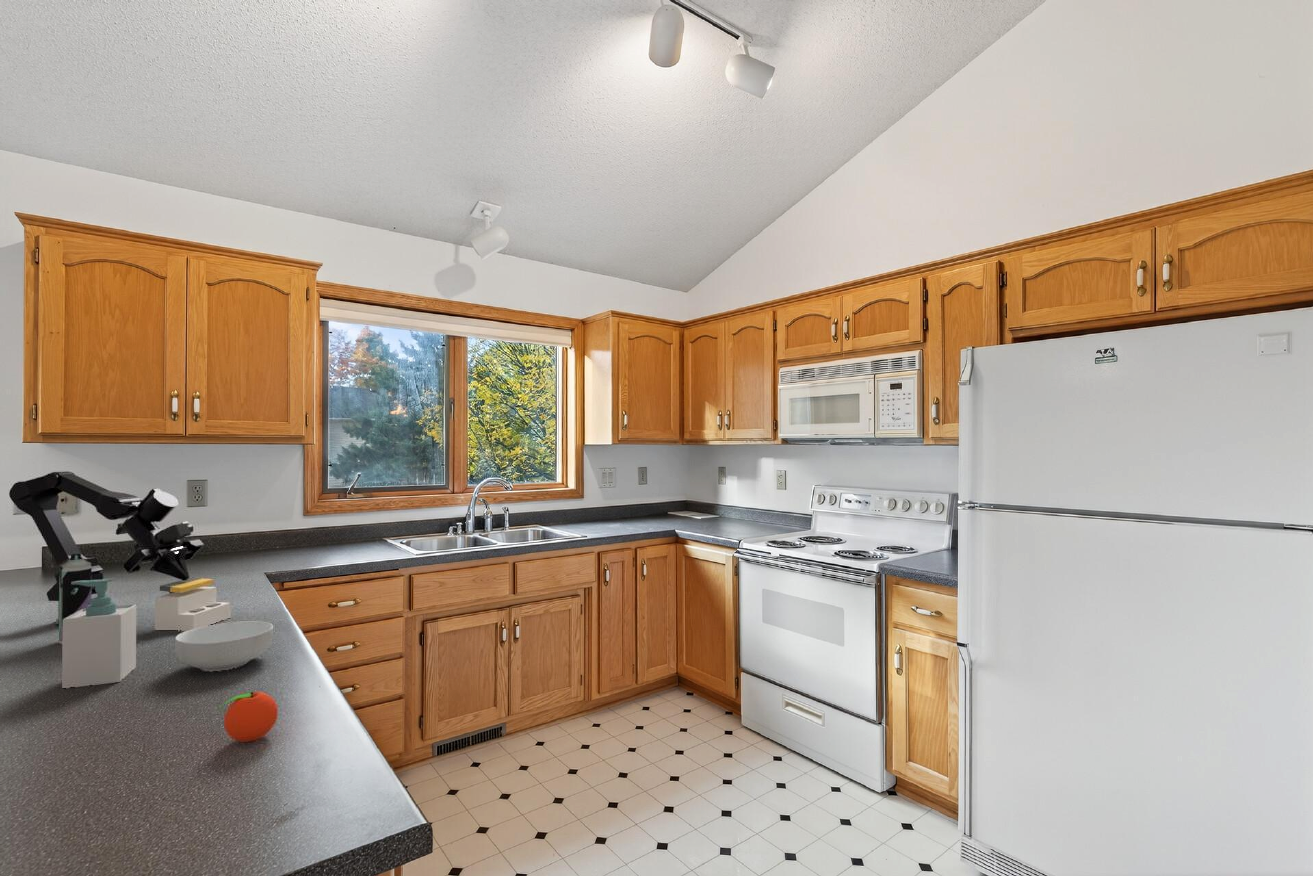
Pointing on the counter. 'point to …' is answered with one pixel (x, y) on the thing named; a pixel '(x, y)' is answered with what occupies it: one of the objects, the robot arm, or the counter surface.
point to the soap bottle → (98, 641)
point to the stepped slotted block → (190, 609)
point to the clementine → (250, 716)
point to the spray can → (73, 588)
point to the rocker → (186, 585)
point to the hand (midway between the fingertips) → (187, 579)
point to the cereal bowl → (223, 644)
